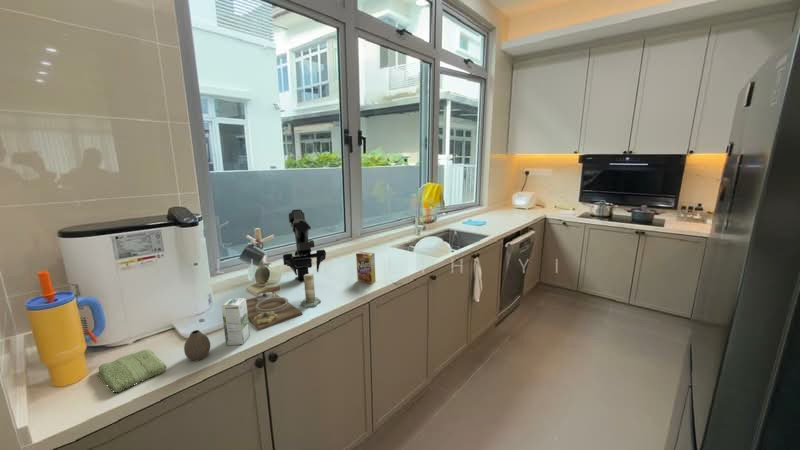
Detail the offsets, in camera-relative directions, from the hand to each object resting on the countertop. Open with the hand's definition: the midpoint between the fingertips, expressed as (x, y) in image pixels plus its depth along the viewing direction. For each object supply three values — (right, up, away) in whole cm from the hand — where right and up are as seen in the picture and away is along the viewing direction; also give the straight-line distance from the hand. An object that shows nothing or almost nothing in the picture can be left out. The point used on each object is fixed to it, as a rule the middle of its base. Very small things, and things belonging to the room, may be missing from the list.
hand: (307, 273), depth 137 cm
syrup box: (-14, -19, -31) cm, 39 cm away
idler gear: (+3, -13, -3) cm, 13 cm away
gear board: (-14, -14, -8) cm, 22 cm away
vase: (-22, -21, -40) cm, 50 cm away
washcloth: (-38, -23, -46) cm, 64 cm away
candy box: (+24, -8, +22) cm, 33 cm away
